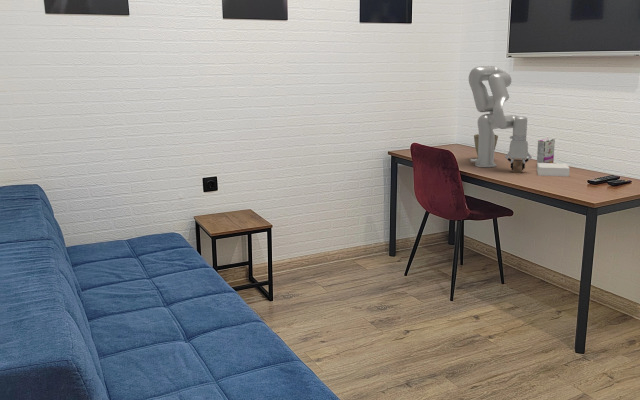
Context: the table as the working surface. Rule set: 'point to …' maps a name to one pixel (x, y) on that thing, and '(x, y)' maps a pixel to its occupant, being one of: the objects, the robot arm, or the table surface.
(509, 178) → the table surface
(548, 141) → the candy bar box
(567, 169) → the riser block
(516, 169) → the walnut block
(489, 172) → the table surface
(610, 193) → the table surface
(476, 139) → the plant pot
